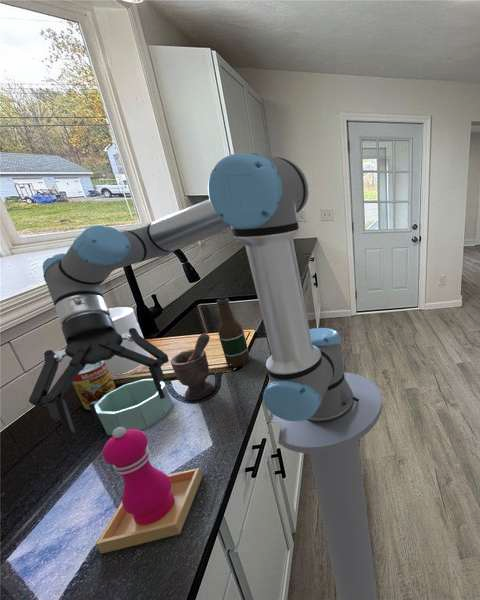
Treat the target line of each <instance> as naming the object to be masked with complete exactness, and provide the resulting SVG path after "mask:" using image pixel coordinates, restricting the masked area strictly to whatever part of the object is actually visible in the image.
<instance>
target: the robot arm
mask: <svg viewBox="0 0 480 600" xmlns="http://www.w3.org/2000/svg"><path fill="white" fill-rule="evenodd" d="M207 195H208V199H205V200H204V201H201V202H198V203H196V204H193V205H191V206H188V207H186V208H183V209H181V210H179V211H177V212H174V213H171V214H169V215H166V216H164V217H162V218H159V219H156V220H155V221H152V222H149V223H147V224H144V225H142V226H139V227H135V228H130V229H124V230H118V229H116V228H115V227H112V226H104V225H102V224H94V225H90V226H88V227H86V228H85V229H84V230H83V231H82V232H81V233H80V234H79V235H78V236H76V238H75V239H74V241H73V242H72V244H71V246H70V247H69V248H68V250H67V251H66V252H64V253H57V254H54V255H53V256H52V257H48V258H46V259H45V260H44V261H43V262H42V272H43V276H42V277H43V280H44V282H45V284H46V286H47V288H48V292H49V294H50V295H49V296H50V297H51V300H52V303H53V306H54V309H55V312H56V315H57V318H58V321H59V324H60V326H61V331H62V334H63V337H64V341H65V343H66V347H65V349H60V350H54V351H53V350H52V349H49V350H46V351H44V353H43V357H44V364H43V366H42V367H41V370H40V373H39V375H38V378H37V380H36V382H35V385H34V387H33V389H32V391H31V394H30V396H29V399H28V402H29V403H30V404H31V405H33V406H35V407H41V406H47V409H48V412H49V416H50V418H51V419H52V420H54V421H55V422H57V421H61V426H62V428H63V432H64V433H65V434H66V435H67V436H72V435H76V431H75V427H74V424H73V421H72V417H71V414H70V410H69V407H68V405H67V402H66V400H64V399H63V397H64V395H65V394H66V392H67V391H68V390H69V388H70V386H71V385H73V384H72V382H73V381H74V379H75V378H76V377H77V375H78V374H79V372H80V371H81V370H83V368H84V367H85V366H86V364H91V365H92V364H96V363H98V362H100V361H103V360H109V359H112V357H113V356H114V355H117V356H119V357H122V358H126V359H129V360H132V361H134V362H137V363H140V364H142V365H145V366H146V367H148V371H149V374H150V375H151V379H153V381H154V383H155V386H156V388H157V391H158V394H159V396H160V399H163V398H165V396H164V393H163V391H162V388H161V386H160V383H159V382H162V381H163V382H164V381H165V380H166V378H165V374H164V372H163V370H162V366H163V365H164V364H167V363H168V362H169V361H170V360H169V356H168V354H167V353H165V352H164V351H163V350H161V349H160V348H158V347H156V346H155V345H154V344H153V343H152V342H150V341H148V340H147V339H145V337H144V338H142V337H141V336H140V335H139V334H138V332H137V330H136V329H135V328H131V329H129V332H126V333H123V334H118V333H117V331H116V329H115V326H114V323H113V321H112V318H111V317H110V313H109V310H108V309H109V307H108V305H107V302H106V299H105V297H104V295H103V292H102V289H101V285H102V284H103V283H104V282H105V281H106V280H107V278H109V276H110V275H111V274H112V272H114V271H115V270H119V269H121V268H122V269H123V268H124V267H128V266H132V265H135V264H139V263H141V262H146V261H149V260H152V259H156V258H162V257H164V256H167V255H169V254H172V253H173V252H175V251H176V250H179V249H182V248H185V247H188V246H190V245H192V244H195V243H199V242H202V241H203V240H206V239H208V238H212V237H214V236H217V235H219V234H223V233H225V232H228V231H230V230H231V233H232V236H233V238H234V239H236V241H239V242H240V243H241V244H243V245H244V246H245V251H246V254H247V255H246V256H247V259H248V264H249V267H250V271H251V275H252V280H253V284H254V289H255V292H256V296H257V301H258V305H259V308H260V309H259V310H260V312H261V313H260V314H261V318H262V322H263V325H264V328H265V333H266V338H267V341H268V346H269V349H270V354H271V355H270V356H269V357H268V359H266V362H265V367H266V372H267V375H268V379H269V384H267V385H266V386H265V388H264V392H263V393H262V394H263V395H262V400H263V404H264V406H265V407H266V409H267V410H268V412H269V413H270V412H271V413H272V414H274V415H275V416H278V417H279V418H281V419H283V420H287V421H303V420H308V421H310V422H315V423H325V422H330V421H334V420H336V419H338V418H340V417H342V416H344V415H345V414H346V413H348V412H349V410H350V409H351V408H352V406H353V403H354V401H357V402H359V399H358V398H355V397H354V396H353V392H352V389H351V388H350V386H349V384H348V382H347V380H346V379H345V376H344V372H345V369H344V361H343V354H342V345H341V343H342V341H341V338H340V335H339V332H338V331H337V330H335V329H332V328H328V327H315V328H310V325H309V320H308V319H309V318H308V314H307V309H306V304H305V298H304V293H303V292H304V291H303V287H302V282H301V281H302V280H301V276H300V270H299V265H298V260H297V255H296V248H295V243H294V238H295V237H296V236H297V234H298V233H299V231H300V224H299V219H298V214H299V212H301V211H302V210H303V209H304V207H305V206H306V204H307V203H308V200H309V196H310V186H309V182H308V178H307V177H306V175H305V173H304V171H303V170H302V169H301V168H300V167H299V166H298V165H297V164H295V162H293V161H291V160H289V159H287V158H283V157H278V156H270V155H266V154H259V153H256V152H246V153H245V152H244V153H232V154H230V155H229V154H228V155H227V156H225V157H223V158H222V159H220V160H219V161H217V163H216V164H215V166H214V168H213V169H212V170H211V171H210V174H209V177H208V182H207ZM123 340H128V341H130V342H132V341H134V342H135V343H136V344H137V345H138V346H140V347H141V348H142V349H144V350H145V351H147V352H148V353H150V355H151V356H152V357H151V358H150V357H148V356H145V355H142V354H140V353H137V352H134V351H132V350H129V349H126V348H125V347H123V346H121V343H122V342H123ZM65 357H69V358H71V360H70V361H69V363H68V366H67V367H66V368H65V370H64V371H63V372H62V374H61V375H60V377H59V378H58V379H57V380H56V382H55V383H54V385H53V386H52V384H53V382H54V379H55V376H56V374H57V372H58V368H59V365H60V364H59V363H62V362H63V360H64V358H65ZM153 357H154V358H153ZM51 386H52V388H51Z"/></svg>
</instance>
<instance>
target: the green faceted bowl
mask: <svg viewBox="0 0 480 600" xmlns="http://www.w3.org/2000/svg"><path fill="white" fill-rule="evenodd" d="M159 383H160V386H161V388H162V391H163V393H164V396H165V398H163V399H160V396H159V394H158V391H157V388H156V386H155V383H154V381H153V378H143V379H140V380H136V381H132V382H129V383H125V384H123V385H121V386H119V387H118V388H117V387H116V389H115V390H113V391H111V392H109V393H107V394H106V395H104V396H103V397H102V398H101V399H100V400H99V401H92V402H91V403H90V404H89V407H90V409H91V410H90V412H91V413H92V415H93V417H94V419H95V420H97V421H98V420H99V421H100V422H101V424H102V427H103V428H104V431H105V433H106V435H107V436H113V435H112V432H113V431H114V430H115V429H116V428H118V427H124V428H125V429H126V430H130V429H136V430H140V431H143V430H145V429H147V428H149V427H151V426H152V425H153V424H155V423H157V422H159V421H160V420H161V419H163V418H165V417H166V416H167V414H168V413H169V411H170V410H171V408H172V407H173V405H174V404H173V402H172V399H171V395H170V393H169V391H168V388H167V386H166V383H165V382H164V381H162V382H159Z"/></svg>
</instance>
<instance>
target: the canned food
mask: <svg viewBox="0 0 480 600" xmlns="http://www.w3.org/2000/svg"><path fill="white" fill-rule="evenodd" d="M71 385H72V386H73V388H74V390H75V392H76V394H77V396H78V398H79V399H80V402H81V404H82V406H83V408H84V409H85V410H90V411H91V409H90V407H89V404H90V403H91V402H92V401H99V400H100V399H101V398H102V397H103V396H104V395H106V394H107V393H109V392H111V391H113V390H115V389H117V387H116V383H114V380H112V378H111V375H110V373H109V371H108V369H107V366H106V364H105V362H104V361H100V362H98V363H96V364H92V365H91V364H86V366H85V367H84V368H83V370H81V371H80V372H79V374H78V375H77V377H76V378H75V379H74V381H73V382H72V384H71Z"/></svg>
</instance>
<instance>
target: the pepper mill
mask: <svg viewBox="0 0 480 600" xmlns="http://www.w3.org/2000/svg"><path fill="white" fill-rule="evenodd" d="M111 436H112V437H110V438H109V439H108V440H107V441H106V442H105V444H104V445H103V449H102V457H103V460H104V461H105V462H106V463H107V464H108V465H111V466H112V468H113V470H114V472H115V473H116V474H117V475H121V476H122V478H123V482H124V486H123V490H122V497H121V498H122V499H121V502H122V504H123V507H124V510H125V511H126V512H127V513H129V514H132V516H133V518H134V520H135V522H136V523H137V524H138V525H148V524H151V523H153V522H156V521H157V520H159V519H161V518H162V517H163V516H164V515H166V514H167V513H168V512H169V510H170V509H171V508H172V506H173V504H174V496H173V494H172V492H171V481H170V479H169V478H168V476H167V475H168V474H166V473H165V472H163V471H162V470H160V469H157V468H156V467H154V466H153V465H152V463H151V462H150V458H151V451H150V449H149V448H148V444H149V440H148V436H147V435H146V433H145V432H143V430H136V429H130V430H126V429H125V428H124V427H118V428H116V429H115V430H114V431H113V432H112V435H111Z"/></svg>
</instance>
